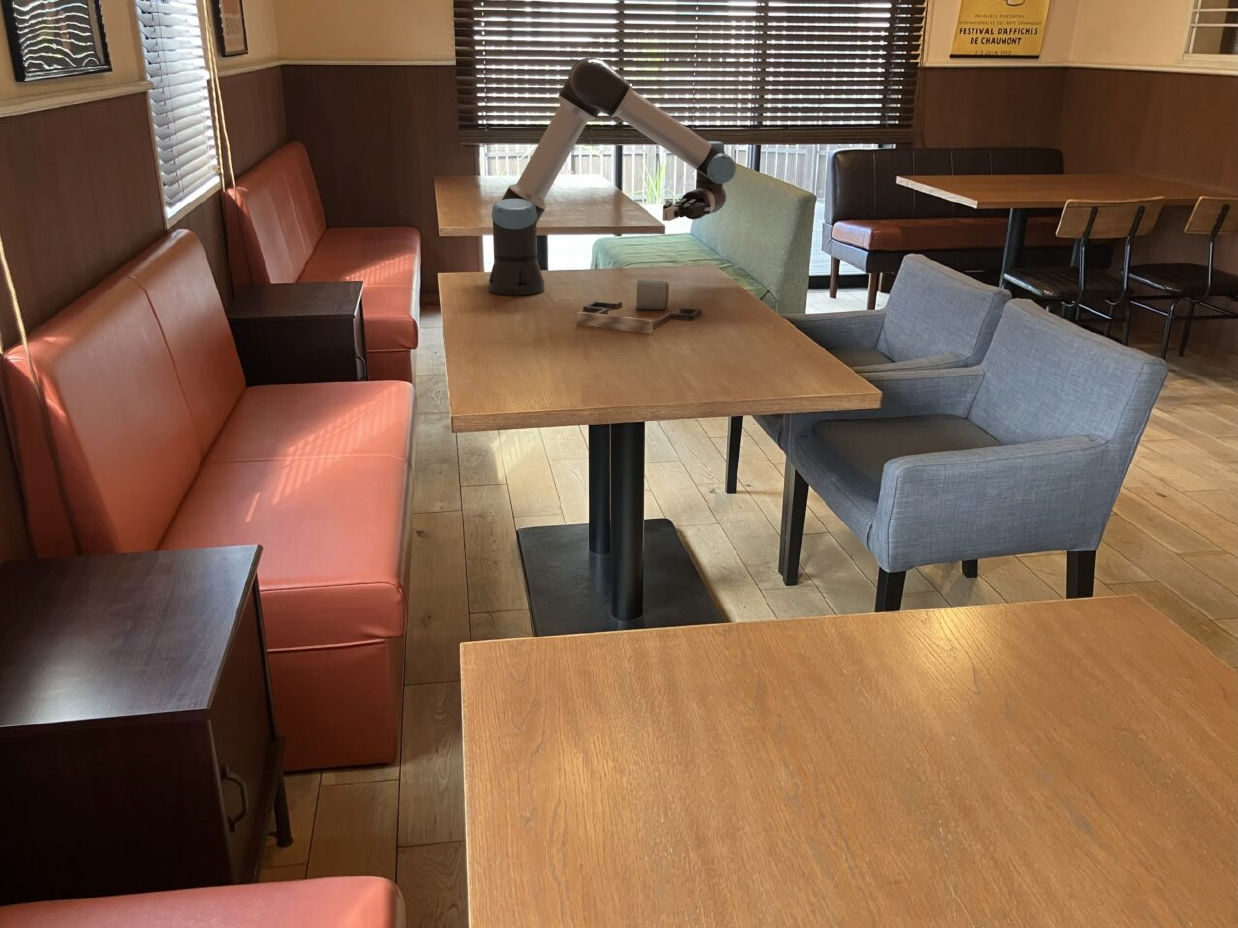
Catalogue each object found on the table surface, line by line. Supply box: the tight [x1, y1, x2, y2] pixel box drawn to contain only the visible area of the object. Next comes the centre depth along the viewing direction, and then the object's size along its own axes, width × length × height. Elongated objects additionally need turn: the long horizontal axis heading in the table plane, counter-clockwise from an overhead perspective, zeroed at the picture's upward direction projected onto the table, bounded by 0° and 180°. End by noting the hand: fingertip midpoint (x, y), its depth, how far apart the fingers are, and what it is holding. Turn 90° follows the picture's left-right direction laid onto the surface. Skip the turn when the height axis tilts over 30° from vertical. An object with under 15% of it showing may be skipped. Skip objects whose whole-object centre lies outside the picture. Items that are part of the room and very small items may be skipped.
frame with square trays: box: [576, 300, 703, 335], centre depth 251 cm, size 28×23×3 cm
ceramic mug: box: [635, 278, 670, 311], centre depth 261 cm, size 11×8×8 cm
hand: (666, 215), depth 262 cm, fingers closed
